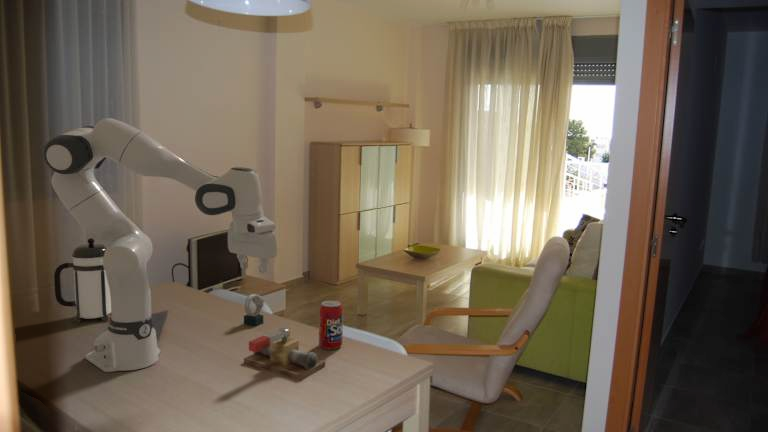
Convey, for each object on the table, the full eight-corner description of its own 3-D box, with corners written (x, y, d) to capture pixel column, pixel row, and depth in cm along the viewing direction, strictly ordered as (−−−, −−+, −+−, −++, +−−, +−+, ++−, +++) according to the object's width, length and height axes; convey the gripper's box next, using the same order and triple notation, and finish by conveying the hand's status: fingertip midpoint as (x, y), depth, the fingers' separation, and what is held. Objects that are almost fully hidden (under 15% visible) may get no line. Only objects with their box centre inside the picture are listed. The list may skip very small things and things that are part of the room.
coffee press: (102, 308, 223) (98, 232, 218) (125, 317, 213) (121, 238, 209) (55, 319, 209) (50, 238, 204) (77, 329, 200) (73, 245, 195)
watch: (266, 321, 213) (266, 293, 212) (252, 328, 206) (252, 298, 205) (254, 319, 216) (254, 290, 214) (240, 325, 209) (240, 296, 207)
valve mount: (243, 362, 176) (243, 334, 175) (270, 350, 186) (270, 323, 185) (300, 380, 165) (300, 350, 164) (325, 366, 176) (325, 338, 174)
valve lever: (283, 334, 177) (283, 326, 176) (292, 336, 175) (292, 328, 175) (248, 350, 163) (248, 341, 163) (256, 352, 162) (256, 343, 161)
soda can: (322, 341, 196) (323, 298, 194) (344, 343, 195) (345, 300, 192) (315, 349, 189) (316, 305, 186) (338, 352, 187) (339, 307, 185)
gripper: (219, 222, 170) (225, 268, 172) (259, 228, 155) (264, 277, 158) (238, 219, 174) (243, 263, 176) (278, 224, 160) (283, 272, 162)
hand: (253, 270), depth 167 cm, fingers open, 8 cm apart
